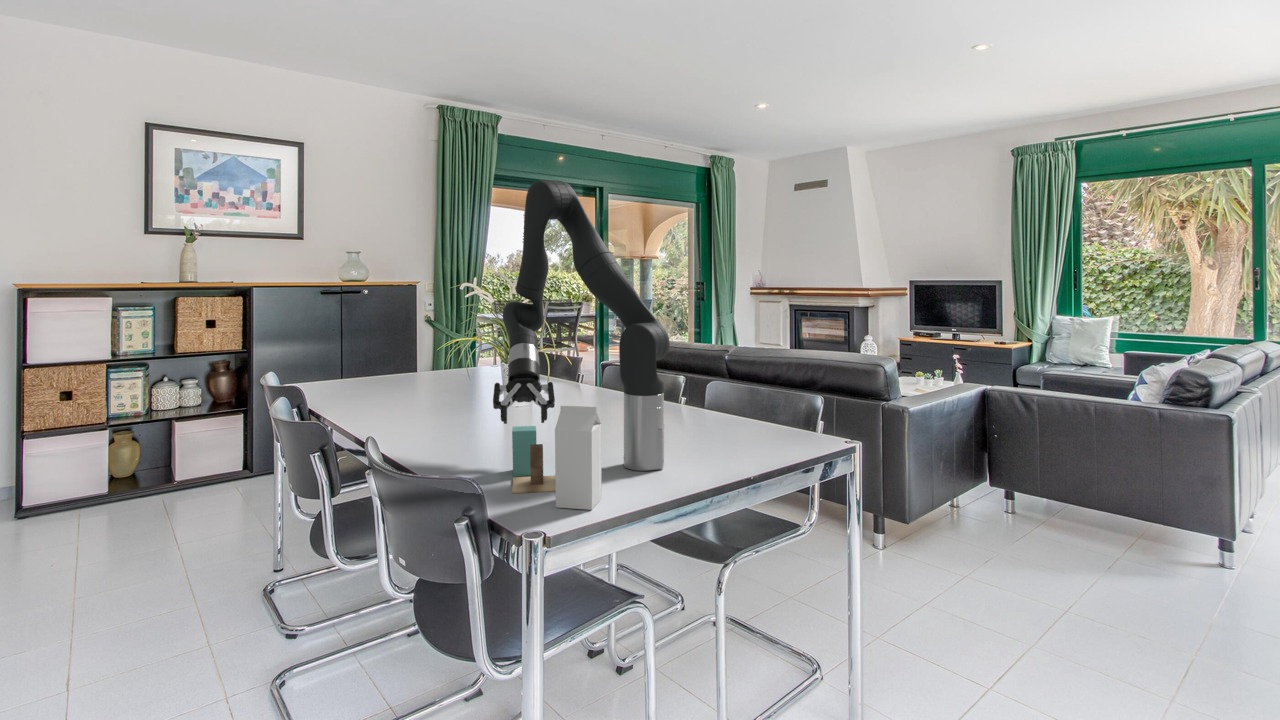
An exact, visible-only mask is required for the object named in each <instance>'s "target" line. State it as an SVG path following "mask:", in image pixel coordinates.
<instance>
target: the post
mask: <svg viewBox="0 0 1280 720" xmlns="http://www.w3.org/2000/svg"><path fill="white" fill-rule="evenodd" d="M530 468H531V475H530V476H513V477H512V494H524V493H525V494H527V493H528V492H529V493H543V492H544V493H547V492H556V483H555V475H544V446H543V444H542V443H541V444H540V443H538V444H537V443H536V444H531V445H530Z"/></svg>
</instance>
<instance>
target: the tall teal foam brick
mask: <svg viewBox="0 0 1280 720" xmlns="http://www.w3.org/2000/svg"><path fill="white" fill-rule="evenodd" d="M511 433H512V434H511V435H512V436H511V438H512V439H511V440H512V441H511V443H512V446H511V448H512V476H513V477H527V476H526V475H528V476H531V468H530V445H531V444H537V426H536V425H522V426H521V425H520V426H519V425H518V426H512V430H511Z"/></svg>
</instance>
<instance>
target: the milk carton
mask: <svg viewBox="0 0 1280 720" xmlns="http://www.w3.org/2000/svg"><path fill="white" fill-rule="evenodd" d="M559 407H560V409H559V414H558V418H557V421H556V425H555V427H554V428H555V429H554V455H555V457H554V463H555V464H554V469H555V474H554V476H555V483H556V491H555V507H556V508H559V509H560V508H563V509H575V510H589V511H590V510H591V511H592V510H593V509H594V508H595V506H596V505H597V504H598V503H599V501H600V500H601V499H602V496H603V495H602V422H601V419H600V418H599V414H598V412H597V411H598V410H597V406H586V405H585V406H584V405H563V404H561V405H560V406H559Z"/></svg>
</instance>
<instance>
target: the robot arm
mask: <svg viewBox="0 0 1280 720" xmlns="http://www.w3.org/2000/svg"><path fill="white" fill-rule="evenodd" d="M524 205H525V207H524V224H523V225H524V226H523V245H522V246H523V247H522V256H521V262H520V266H519V267H520V268H519V271H518V276H517V280H516V284H515V285H516V286H515V290H516V291H515V292H516V294H517V295H519V296H520V297H521V298H524V299H526V300H529V301H531V302H532V303H526V302H520V301H509V302H508V303H506V304H505V305H504V308H503V310H502V321H503V324H504V327H505V330H506V332H507V336H508V339H509V352H508V353H509V354H508V358H507V359H508V360H507V362H508V363H507V373H508V375H507V376H508V377H507V383H506V384H500V382H495V383H494V388H493V396H492V397H493V398H492V405H493V409H494V410H498V409H499V410H500V421H501V422H503V424H504V425H505V424H506V425H507V424H508V409H509V407H511V406H513V405H514V403H515V402H517V403H531V402H533V403H534V404H535V405H537V406H538V407H540V421H541V424H545V421H547V420H548V409H549V408H550V409H553V408H555V400H556V398H555V391H554V383H553V382H552V381H549V382H548V383H547V384H544V383H543V384H542V383H541V380H540V378H541V377H540V366H541V365H540V355H539V343H538V342H539V341H538V334H537V333H536V332H538V331H539V330H540V329H541V328H542V327H543V325H544V323H545V316H544V291H545V287H546V284H547V283H546V282H547V280H548V279H547V278H548V274H549V259H548V254H547V251H546V247H545V232H546V228H547V226H548V222H549V221H551V220H553V221H554V220H557V221H558V222H559V223H560V224H561V225H562V227H563V228H564V230H565V231H566V233H567V235H568V236H569V238H570V240H571V245H572V246H571V247H572V261H573V265H574V268H575V270H576V273H577V274H578V276H579V277H580V278H581V281H582V282H583V284H584V285H585V287H586V288H587V290H588V291H589V292H590V293H591V294H592V295H593V296H594V297H595V298H596V299H597V300H598V301H600V303H602V305H603V306H605V307H606V308H607V309H609V310H610V311H611V312H612V313H613V314H615V316H616V317H617V318H618V319H619V321H620V322H621V324H622V325H623V326H624V328H625V329H624V330H623V331H622V333H621V335H620V339H619V345H618V346H619V347H618V348H619V349H618V350H619V351H618V353H619V357H618V358H619V375H620V377H619V378H620V381H621V383H622V386H623V468H626V469H629V470H632V471H645V472H647V471H655V470H663V469H664V465H665V423H664V419H665V418H664V414H665V412H664V411H665V410H664V409H665V406H664V405H665V383H664V381H663V380H662V379H661V378H660V377H659V376H658V372H657V369H658V368H657V361H660V360H662V359H663V358H665V357H666V356H667V354H668V352H669V351H670V344H671V343H670V338H669V335H668V332H667V330H666V329H665V327H664V326H663V325H662V324H661V322H660V321H659V320H658V319H657V318H656V316H655V315H654V314H653V313H652V311H651V310H650V309H649V308H648V307H647V305H646V304H645V303H644V302H643V300H642V299H641V297H640V296H639V294H638V292H637V291H636V289H635V287H634V286H633V285H632V283H631V282H630V279H628V277H627V276H626V274H625V273H624V271H623V269H622V267H621V266H620V264H619V263H618V261H617V260H616V258H615V257H614V255H613V254H612V252H611V251H610V249H609V248H608V247H607V245H606V244H605V242H604V240H603V239H602V238H601V236H600V233H599V232H598V231H597V229H596V227H595V226H594V224H592V222H591V220H590V218H589V216H588V214H587V212H586V210H585V208H584V207H583V205H582V203H581V200H580V198H579V196H578V194H577V193H576V191H575V190H574V189H573V187H572V186H571V185H570V184H569V183H567V182H566V181H562V180H550V179H548V180H545V179H543V180H542V179H541V180H536V181H534V182H533V183H532V184H531V185H530V186H529V187H528V189H527V193H526V197H525V204H524ZM542 391H544V393H545V394H546V395H548V396H547V397H548V399H547V400H546V399H545V398H544V397H543V395H542V393H541V392H542ZM504 392H506V393H507V394H506V396H505V397H504V398H503V400H502V401H500V396H501V395H503V394H504Z"/></svg>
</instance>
